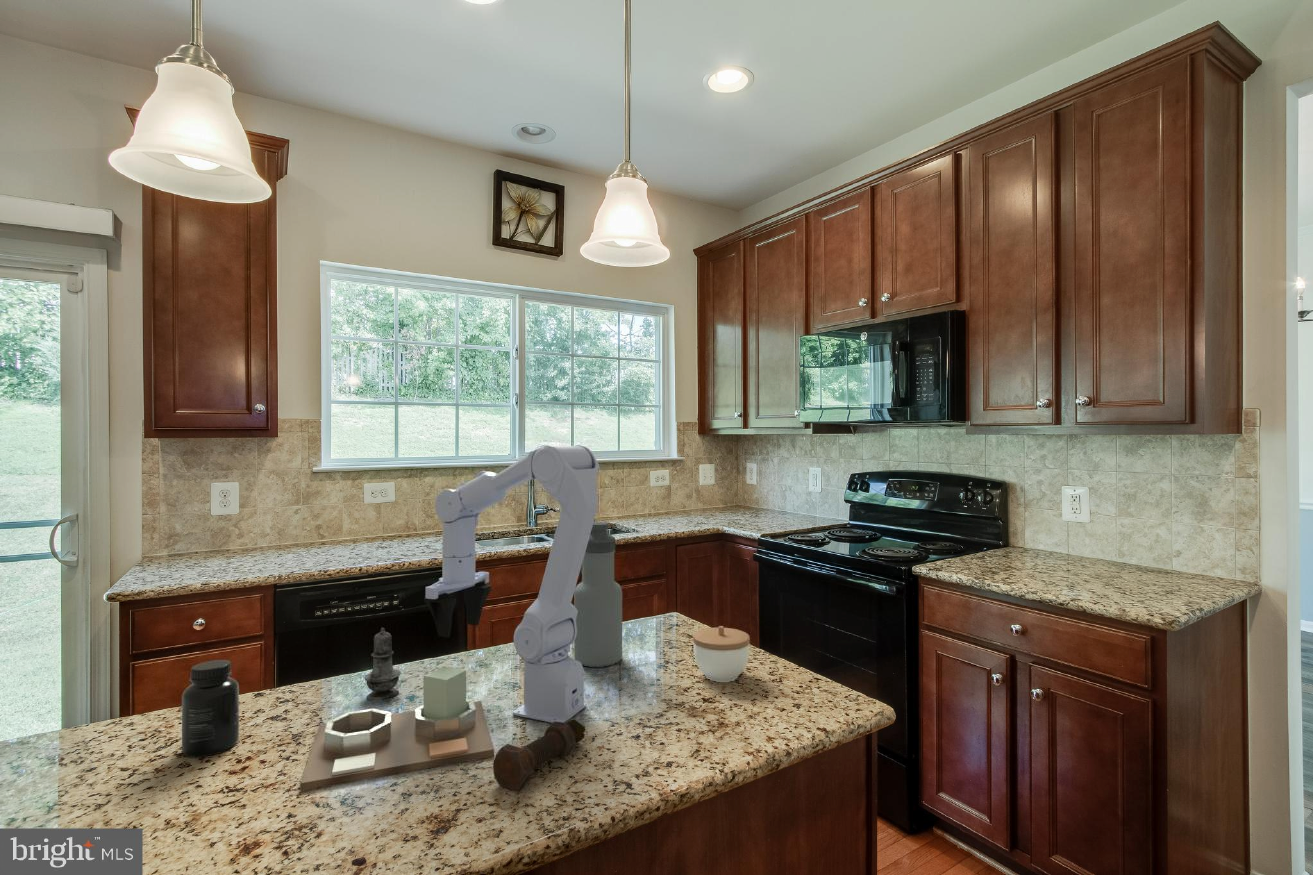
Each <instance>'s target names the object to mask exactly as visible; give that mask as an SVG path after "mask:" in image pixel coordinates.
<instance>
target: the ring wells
mask: <svg viewBox="0 0 1313 875" xmlns="http://www.w3.org/2000/svg"><path fill="white" fill-rule="evenodd" d="M474 702H475V701H474V700H473V699H468V698H466V712H464V713H462V714H461V715H459V716H457V717H452V718H445V719H439V720H435V719H430V718H426V717H423V708H424V704H422V705H420V706H417V708H415V710H414V711H415V733H416V735H417V736H421V737H425V738H429V739H433V740H434V739H441V738H447V737H453V736H459V735H461V734H463V733H464V732H466V731H468V730H469V729H471V728H473V727H474V726H475V725H476V709H475V705H474ZM391 714H392V712H391V711H387V710H382V709H378V708H368V709H361V710H353V711H348V712H346V713H344V714H341V715H339V716H337V717H335V718H332V719H331V720H328V721H327V723H326V724H327V726H326V729H325V750H327V751H331V752H334V753H338V754H343V755H344V754H350V753H356V752H362V751H368V750H372V749H374V748H376V747H377V746H379V745H381V744H383V743H385V742H386V741H388V740H390V739H391ZM371 727H372V729H370V730H367V731H361V732H354V733H348V734H345V733H346V732H348V731H351V730H358V729H364V728H371Z"/></svg>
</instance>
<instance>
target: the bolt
mask: <svg viewBox="0 0 1313 875" xmlns="http://www.w3.org/2000/svg"><path fill="white" fill-rule="evenodd" d="M586 731H587V729H586V726H585V725H583V724H582V723H581V722H580V721H578V720H577V719H575V718H574V719H573V718H572V719H569V720H567V721H566V722H564V723H563V722H554V723H550V724H549V726H548V727H547V728H546V730H545V731H544V734H543V735H542V736H541V737H538V738H537V739H535V740H533V741H532V742H530V743H528V744H526V745H524V746H523V747H519V746H516V745H512V744H508V743H507V744H504V745H502V747H501V748H500V749H499V750H498V752H497V753H496V754H495V755H494V759H493V763H492V769H493V770H492V772H493V775H494V776H493V777H494V778H495V780H496V782H497V784H498V785H499V786H500V787H501V788H502V789H504V790H507V791H508V792H513V793H519V792H521V791H522V790H524V789H525V788H526V785H527V784H528V782H529V780H530V778H531V776H532V774H533V772H534V771H535V770H537V769H538V768H539V767H541V766H542V765H544V764H546V763H548V762H550V761H551V760H553V759H561V760H562V759H565V758H567V757H569V756H570V755H571V754H572V752H573V750H574V748H575V746H576V744H578V743H580V742H581V741H583V739H585V736H586V734H585V733H586Z"/></svg>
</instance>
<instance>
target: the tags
mask: <svg viewBox="0 0 1313 875" xmlns="http://www.w3.org/2000/svg"><path fill="white" fill-rule="evenodd" d="M429 750H430V758H435V757H441V756H447V755H452V754H458V753H464V752H468V747H467V741H466V738H461V739H455V740H449V741H443V742H437V743H431V744H429ZM375 756H376V753H371V754H365V755H359V756H353V757H347V758H341V759H335V762H334V767H333V771H332V775H338V774H343V773H349V772H355V771H361V770H366V769H372V768H374V765H375Z"/></svg>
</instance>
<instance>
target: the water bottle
mask: <svg viewBox="0 0 1313 875" xmlns="http://www.w3.org/2000/svg"><path fill="white" fill-rule="evenodd" d="M607 530H609V523H608V522H606V521H594V522H593V526H592V530H591V533H590V537H589V540H588V544H587V548H586V551H585V555H584V558H583V562H582V565H581V569H580V574H581V582H579V583H578V584H576V587H575V591H574V594H573V599H574V600H573V606H574V607H575V608H576V609H577V610H578V613H577V617H576V626H577V635H576V638H575V640H574V642H573V645H574V647H573V648H574V649H573V650H574V651H573V652H574V658H573V659H574V660H577V661H579V662H581V664H582V666H583V665H584V666H583V667H587V666H589V668H604V666H606V667H609V665H610V666H613V665H616V664H617V663H619V662H620V661H621V660H622V658H623V590H622V587H621V585H620V584H619V583H618V582H616V580H615V553H616V537H615V536H613V535H612V534H607V533H608V532H607ZM615 663H616V664H615Z"/></svg>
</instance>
